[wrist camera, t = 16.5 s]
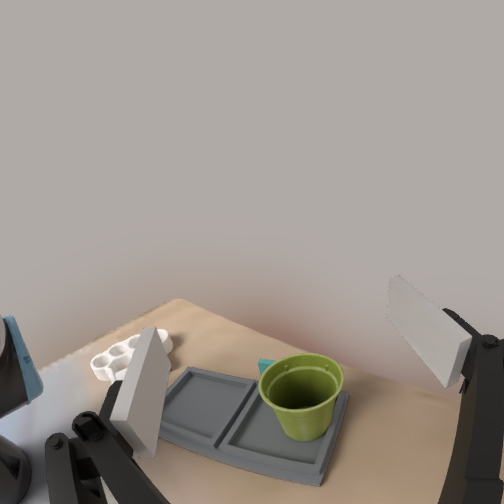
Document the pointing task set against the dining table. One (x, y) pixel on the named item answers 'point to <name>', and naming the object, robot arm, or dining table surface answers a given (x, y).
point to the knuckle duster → (122, 357)
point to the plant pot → (302, 393)
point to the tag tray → (243, 427)
